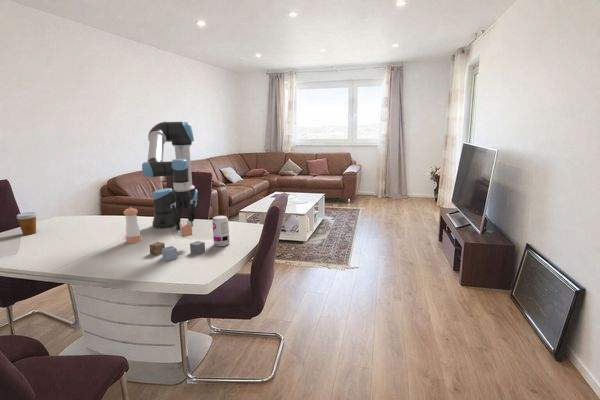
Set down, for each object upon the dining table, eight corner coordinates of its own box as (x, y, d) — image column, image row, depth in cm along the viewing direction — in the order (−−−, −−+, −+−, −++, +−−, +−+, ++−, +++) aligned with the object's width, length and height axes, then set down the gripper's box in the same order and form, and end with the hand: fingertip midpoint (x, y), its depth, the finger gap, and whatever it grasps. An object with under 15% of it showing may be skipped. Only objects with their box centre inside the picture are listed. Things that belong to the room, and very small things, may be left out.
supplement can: (214, 247, 182) (212, 219, 179) (213, 242, 190) (212, 215, 187) (230, 246, 185) (228, 218, 182) (228, 241, 192) (227, 214, 189)
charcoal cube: (190, 253, 175) (189, 243, 174) (198, 250, 179) (197, 240, 178) (197, 255, 173) (196, 245, 172) (205, 252, 177) (204, 242, 176)
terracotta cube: (178, 235, 181) (177, 226, 180) (186, 233, 184) (186, 224, 183) (183, 237, 178) (183, 227, 176) (192, 235, 181) (191, 225, 180)
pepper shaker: (135, 243, 190) (131, 209, 186) (123, 242, 191) (119, 208, 187) (143, 239, 197) (140, 206, 193) (132, 238, 198) (128, 205, 194)
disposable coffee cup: (43, 231, 213) (40, 212, 211) (30, 236, 204) (26, 216, 202) (29, 231, 214) (25, 211, 212) (15, 235, 205) (11, 215, 203)
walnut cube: (150, 254, 174) (149, 244, 173) (158, 251, 179) (157, 241, 177) (157, 255, 172) (156, 246, 171) (165, 252, 176) (164, 243, 175)
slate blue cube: (162, 258, 169) (161, 248, 168) (172, 255, 172) (172, 246, 171) (167, 261, 165) (166, 251, 164) (177, 258, 168) (176, 248, 167)
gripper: (169, 194, 167) (173, 240, 172) (201, 188, 180) (204, 231, 186) (161, 192, 171) (165, 237, 176) (192, 186, 185) (195, 228, 190)
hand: (185, 234), depth 181 cm, fingers closed on terracotta cube, 5 cm apart
